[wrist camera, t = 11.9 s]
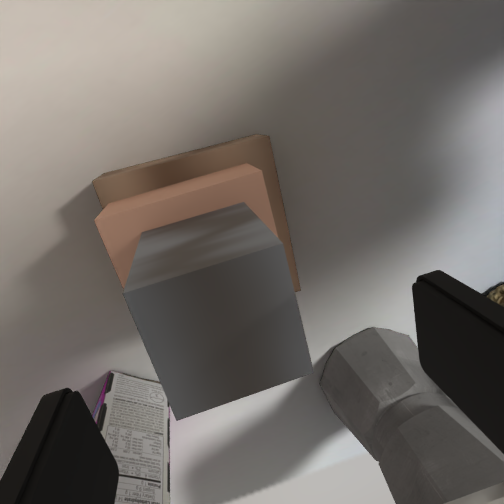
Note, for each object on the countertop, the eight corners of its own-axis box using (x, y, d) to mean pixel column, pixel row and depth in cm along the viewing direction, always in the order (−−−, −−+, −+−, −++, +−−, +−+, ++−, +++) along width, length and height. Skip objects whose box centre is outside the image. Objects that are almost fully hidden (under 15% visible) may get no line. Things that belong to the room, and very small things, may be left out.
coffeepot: (351, 446, 35) (513, 737, 18) (280, 401, 32) (398, 706, 15) (470, 326, 33) (769, 528, 17) (408, 265, 30) (702, 441, 13)
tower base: (255, 134, 25) (269, 135, 21) (284, 268, 29) (300, 290, 25) (104, 172, 24) (92, 181, 20) (154, 307, 27) (151, 335, 24)
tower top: (246, 162, 22) (261, 170, 18) (278, 285, 24) (297, 313, 21) (108, 203, 21) (93, 220, 17) (157, 324, 24) (154, 361, 20)
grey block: (243, 201, 18) (282, 243, 12) (267, 292, 20) (313, 372, 13) (141, 232, 18) (122, 293, 11) (175, 322, 19) (176, 420, 13)
